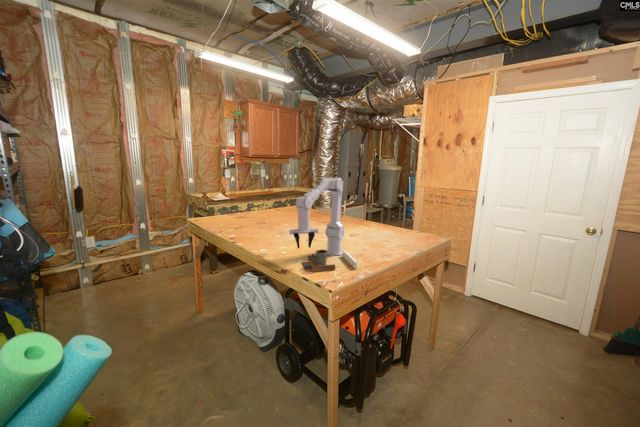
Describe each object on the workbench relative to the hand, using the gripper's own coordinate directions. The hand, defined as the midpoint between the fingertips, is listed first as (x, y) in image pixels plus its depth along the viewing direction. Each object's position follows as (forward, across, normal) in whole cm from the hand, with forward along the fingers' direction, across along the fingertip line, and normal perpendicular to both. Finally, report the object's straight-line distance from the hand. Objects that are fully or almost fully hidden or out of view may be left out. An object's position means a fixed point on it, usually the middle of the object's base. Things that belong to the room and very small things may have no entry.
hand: (303, 247), depth 142 cm
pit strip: (+10, +2, 0) cm, 10 cm away
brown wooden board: (+10, +9, 0) cm, 13 cm away
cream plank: (+10, +24, 0) cm, 26 cm away
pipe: (+10, +8, 0) cm, 13 cm away
